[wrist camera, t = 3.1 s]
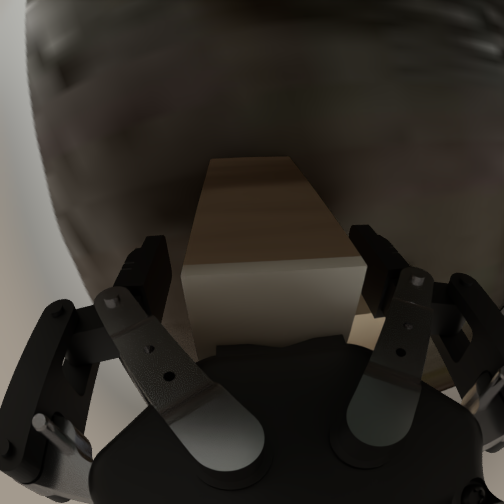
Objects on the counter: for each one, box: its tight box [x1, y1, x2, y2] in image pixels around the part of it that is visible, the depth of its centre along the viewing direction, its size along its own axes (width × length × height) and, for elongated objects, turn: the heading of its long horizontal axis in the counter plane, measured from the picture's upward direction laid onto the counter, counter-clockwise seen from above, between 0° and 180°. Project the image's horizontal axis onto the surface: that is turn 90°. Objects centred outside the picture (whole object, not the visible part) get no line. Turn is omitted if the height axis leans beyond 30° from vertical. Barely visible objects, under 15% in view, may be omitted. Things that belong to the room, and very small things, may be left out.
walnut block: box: [181, 156, 367, 361], centre depth 12 cm, size 5×4×10 cm
